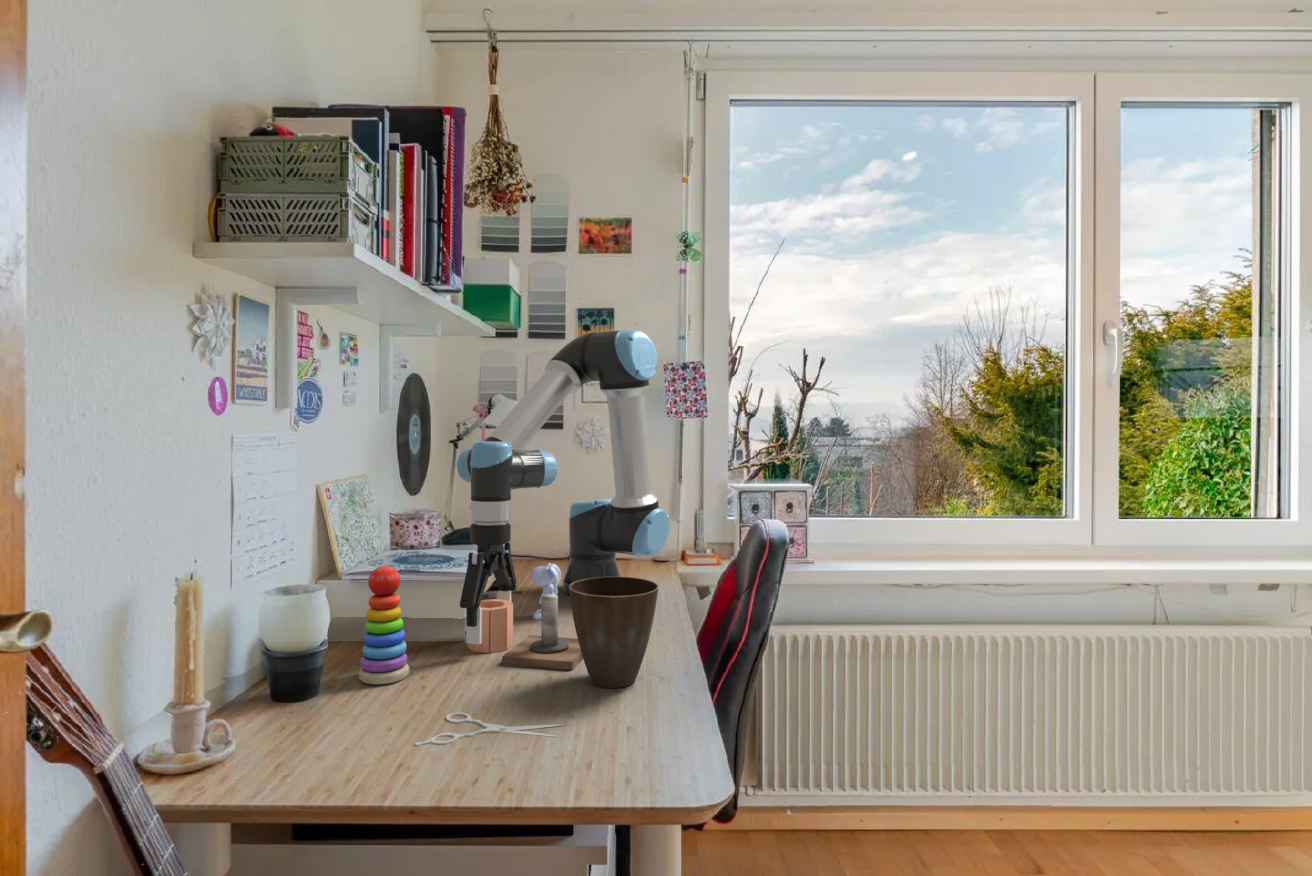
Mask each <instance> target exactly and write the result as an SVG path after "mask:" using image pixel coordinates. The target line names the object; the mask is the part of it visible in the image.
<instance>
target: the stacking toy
mask: <svg viewBox="0 0 1312 876" xmlns="http://www.w3.org/2000/svg"><path fill="white" fill-rule="evenodd" d="M367 582H368V587H369V589H370V591H371V592H372V593H373V595H371V596H370V597H369V599H368V606H369V607H370V608H369V609H367V611H366V612H365V616H366V619H367V621H366V622H365V625H364V628H365V630H366V633H364V636H363V643H364V646H362V655H363V656H361V658H360V660H359V667H360V670H359V672H358V678H359V680H360V681H361V682H363V683H364V684H367V685H386V684H387V685H388V684H392V683H397V682H399V681H401V680H403V679H405V678H406V677H408V675H409V674H410V666H409V664H408V663H407V662H408V655H407V654H406V651H407V647H408V646H407V645H408V644H407V642H406V641H405V638H406V633H405V630H404V629H402V628H403V627H404V621H403V618H402V617H401V615H402V609H401V607H399V605H400V603H401V597H400V595H399V594H397V593H396V591H398V588H399V587H400V584H401V576H400V573H399V571H397V569H396V568H394V567H393V566H388V565H382V566H379V567H377V568H375V569H373V570H372V572H371V573H370V574H369V576H368V581H367Z"/></svg>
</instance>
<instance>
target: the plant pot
mask: <svg viewBox="0 0 1312 876" xmlns="http://www.w3.org/2000/svg"><path fill="white" fill-rule="evenodd" d="M569 591H570V594H569V598H570V604H571V605H570V606H571V611H572V612H571V613H572V618H573V623H574V628H575V633H576V637H577V639H578V642H579V646H580V649H581V653H582V656H583V659H582V660H583V662H584V666H585V668H586V671H587V673H588V676H589V679H590V681H591V683H592V684H593V685H594V686H597V687H601V688H607V689H615V688H616V689H619V688H624V687H628V686H630V685H633V684H634V683H635V682H636V681H637V680H636V679H637V677H638V674H639V672H640V668H641V666H642V664H643V660H644V657H645V655H646V651H647V647H648V644H649V641H650V640H649V639H650V636H651V633H652V627H653V623H654V618H655V613H656V607H657V600H658V594H659V584H657V583H656V582H655V581H652V580H649V579H645V578H639V577H631V576H621V577H595V578H588V579H582V580H578V581H576V582H573V583H571V584H570V585H569Z"/></svg>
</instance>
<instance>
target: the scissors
mask: <svg viewBox="0 0 1312 876" xmlns="http://www.w3.org/2000/svg"><path fill="white" fill-rule="evenodd" d="M455 716H464V717H466V718H462V719H455V718H452V717H455ZM445 720H446V721H447V722H450V723H451V724H452V723H453V724H462V723H473V724H474V723H475V724H478V725H480V726H482V727H483V729H479V730H476V731H474V732H473V731H472V732H469V733H468V732H467V733H454V732H451V731H448V732H443V733H439V734H436V735H434V736H433V737H431V739H428V740H424V741H418V742H415V743H414V746H416V747H420V746H422V745H426V744H427V745H428V744H433V745H448V744H451V743H455V742H456V741H458V740H460V739H462V738H467V737H468V738H470V737H471V738H472V737H474V736H475V735H479V734H480V735H481V734H491V733H492V734H493V733H509V734H519V735H528V736H540V737H541V736H542V737H550V738H551V737H553V738H561V736H559V735H553V734H546V733H542V732H541V733H540V732H532V731H526V730H532V729H533V730H534V729H541V728H542V729H543V728H550V727H560V726H563V724H539V725H538V724H537V725H518V726H506V725H502V724H495V723H494V724H493V723H487V722H483V721H482V720H481V719H473V718H472V716H471V714H468V713H466V712H462V711H461V712H452V713H449V714H447V715H446V716H445ZM524 730H525V731H524ZM443 737H452V739H449V740H444V741H443V740H441V741H439V740H437V739H439V738H443ZM562 738H567V737H565V736H562Z"/></svg>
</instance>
